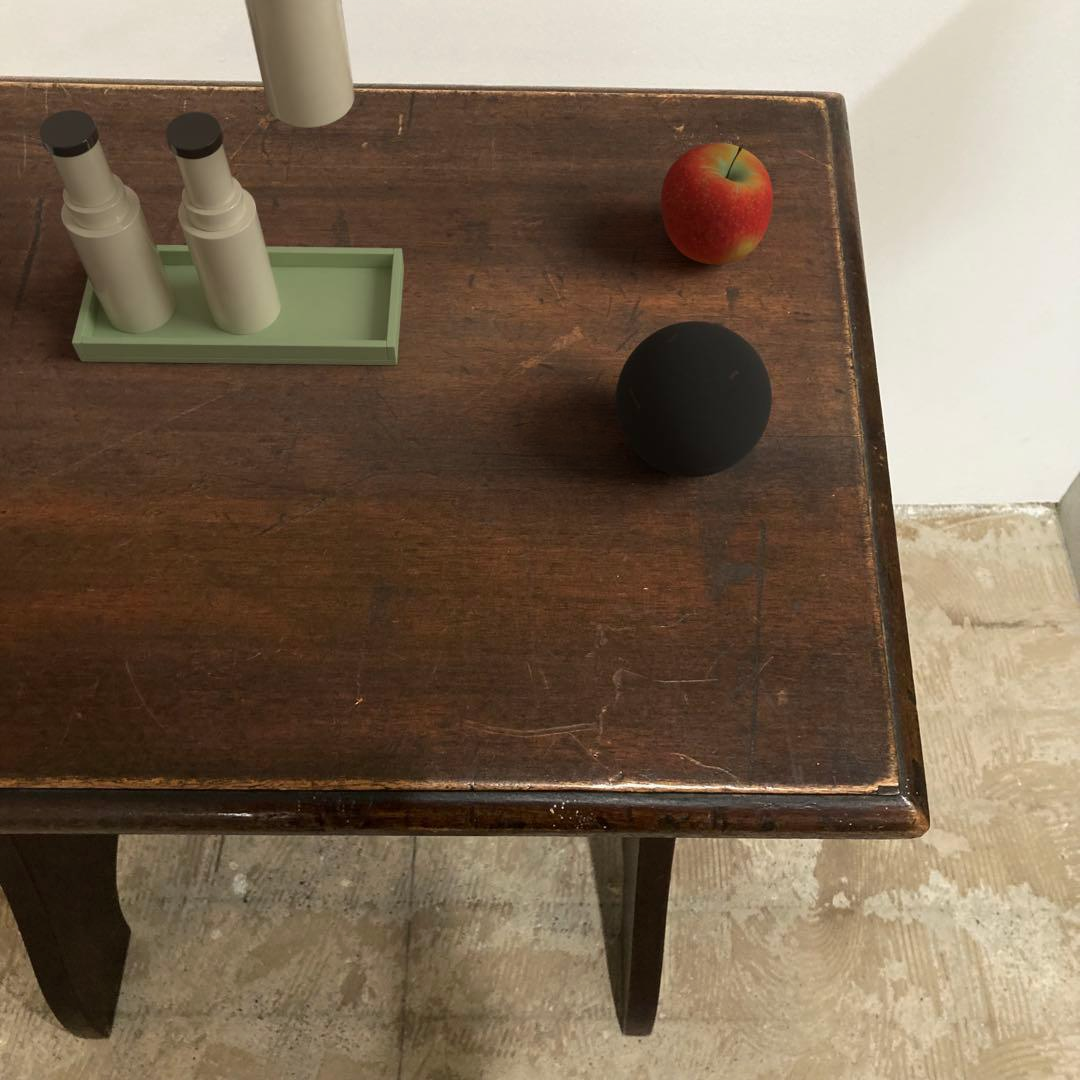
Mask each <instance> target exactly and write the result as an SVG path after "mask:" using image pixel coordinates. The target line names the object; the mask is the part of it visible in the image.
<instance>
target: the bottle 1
mask: <svg viewBox="0 0 1080 1080" xmlns="http://www.w3.org/2000/svg"><path fill="white" fill-rule="evenodd" d="M38 128H39V129H38V136H39V139H40V141H41V143H42V145H43V148H44V149H45V150H46V151H47V152H48V153H49V155H50V158H51V159H52V162H53V164H54V166H55V169H56V171H57V174H58V175H59V178H60V180H61V182H62V185H63V186H64V188H63V191H62V192H63V193H62V199H63V202H64V203H63V204H62V208H61V211H60V218H61V221H62V224H63V226H64V229H65V230H66V232H67V235H68V237H69V239H70V241H71V243H72V245H73V247H74V250H75V252H76V254H77V257H78V258H79V261H80V263H81V265H82V267H83V269H84V271H85V274H86V275H87V279H88V278H89V280H90V282H91V284H92V287H93V289H94V291H95V293H96V295H97V297H98V300H99V302H100V304H101V306H102V308H103V310H104V313H105V315H106V317H107V319H108V321H109V322H110V323H111V325H113V326H114V327H115V328H117V329H118V330H121V331H123V332H127V333H145V332H149V331H152V330H155V329H157V328H159V327H161V326H162V325H164V324H165V323H166V322H167V321H168V320H169V319H170V318H171V317H172V315H173V313H174V311H175V308H176V297H175V294H174V291H173V289H172V286H171V283H170V281H169V278H168V275H167V273H166V270H165V267H164V265H163V262H162V259H161V257H160V254H159V251H158V249H157V246H156V245H157V244H156V240H155V238H154V236H153V232H152V230H151V227H150V225H149V222H148V219H147V216H146V215H145V211H144V208H143V206H142V203H141V200H140V198H139V196H138V195H137V193H136V191H134V190H133V189H132V188H131V187H129V186H127V185H125V184H124V183H123V180H122V179H121V178H120V177H119V176H118V175H116V173H113V171H112V170H111V166H110V164H109V161H108V159H107V155H106V154H105V152H104V149H103V146H102V144H101V140H100V138H99V137H100V132H99V129H98V127H97V124H96V121H95V119H94V118H93V117H92V116H91V115H90V114H89V113H87V112H86V111H83V110H79V109H64V110H59V111H57V112H54V113H51V114H50V115H49V116H47V117H46V118H45V119H44V120H43V121H42V122H41V123H40V126H39V127H38Z"/></svg>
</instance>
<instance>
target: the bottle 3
mask: <svg viewBox="0 0 1080 1080" xmlns="http://www.w3.org/2000/svg"><path fill="white" fill-rule="evenodd" d="M243 1H244V5H245V9H246V13H247V14H246V15H247V20H248V24H249V28H250V29H249V30H250V34H251V37H252V41H253V45H254V51H255V55H256V60H257V64H258V69H259V74H260V78H261V82H262V87H263V91H264V96H265V101H266V105H267V108H268V111H270V112H271V114H272V115H273V116H274V117H275V118H276V119H278V120H279V121H280V122H282V123H284V124H286V125H289V126H293V127H295V128H296V127H297V128H307V129H308V128H318V127H319V128H320V127H324V126H327V125H330V124H333V123H335V122H337V121H339V120H340V119H341V118H343V117H345V115H347V113H349V111H350V110H351V108H352V107H353V104H354V102H355V87H354V81H353V80H354V79H353V74H352V67H351V60H350V53H349V45H348V38H347V30H346V23H345V17H344V10H343V9H344V8H343V1H342V0H243Z"/></svg>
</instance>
